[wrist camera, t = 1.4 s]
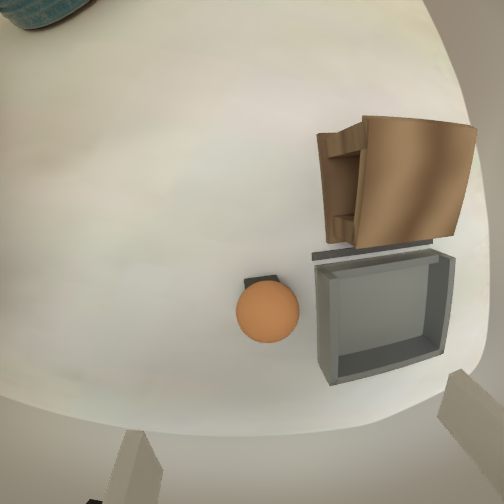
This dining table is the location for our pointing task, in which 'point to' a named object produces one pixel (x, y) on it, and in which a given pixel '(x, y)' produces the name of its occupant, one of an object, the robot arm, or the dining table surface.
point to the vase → (38, 11)
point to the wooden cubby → (394, 179)
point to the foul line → (366, 249)
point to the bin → (382, 312)
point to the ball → (267, 311)
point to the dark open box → (251, 281)
